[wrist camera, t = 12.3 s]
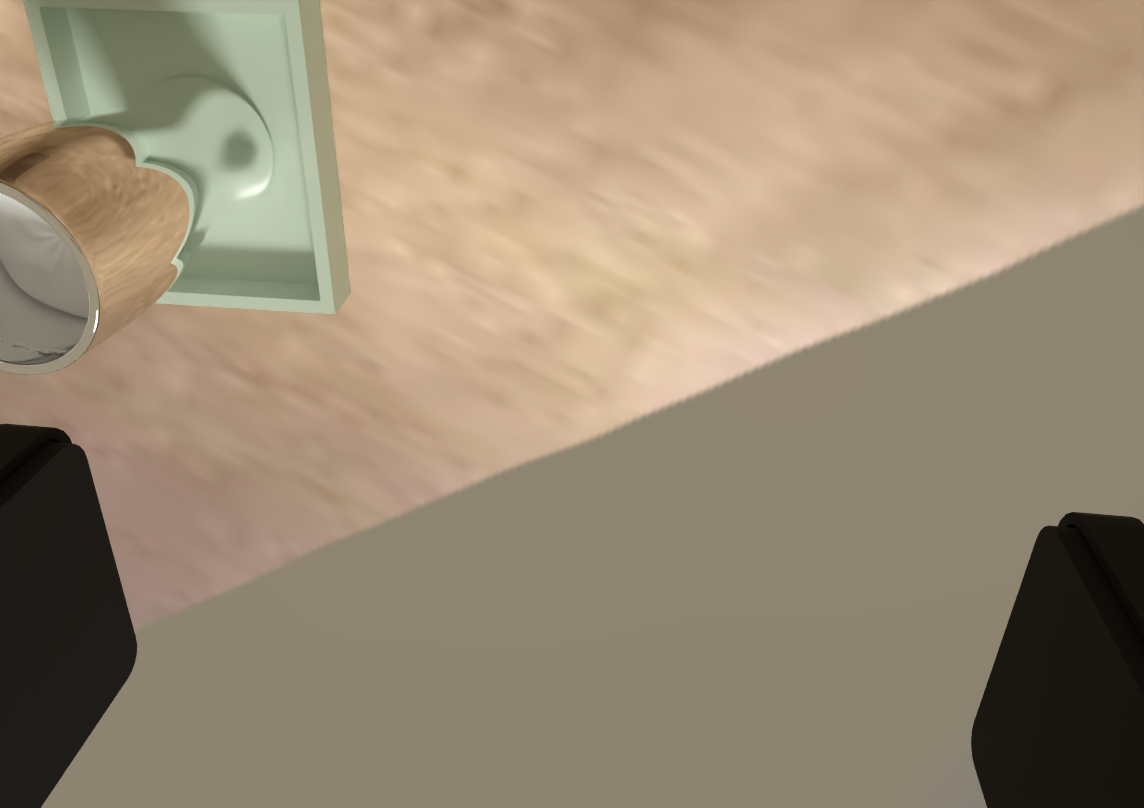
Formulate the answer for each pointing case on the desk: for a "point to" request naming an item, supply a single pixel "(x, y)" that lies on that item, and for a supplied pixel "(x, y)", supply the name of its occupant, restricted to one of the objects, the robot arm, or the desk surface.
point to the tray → (275, 90)
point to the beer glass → (116, 213)
